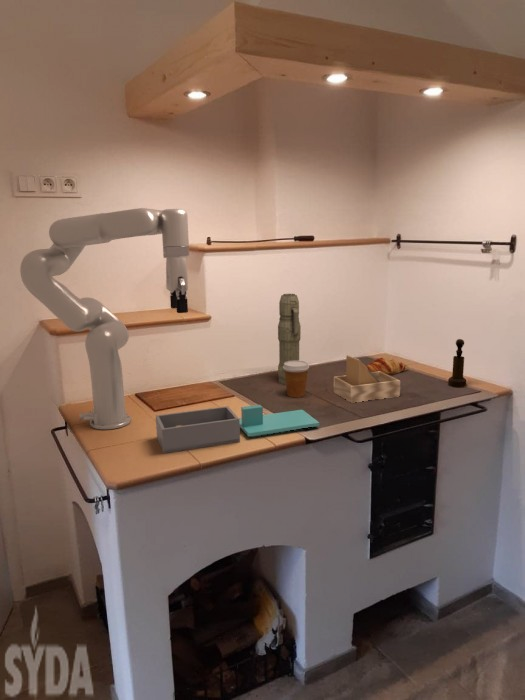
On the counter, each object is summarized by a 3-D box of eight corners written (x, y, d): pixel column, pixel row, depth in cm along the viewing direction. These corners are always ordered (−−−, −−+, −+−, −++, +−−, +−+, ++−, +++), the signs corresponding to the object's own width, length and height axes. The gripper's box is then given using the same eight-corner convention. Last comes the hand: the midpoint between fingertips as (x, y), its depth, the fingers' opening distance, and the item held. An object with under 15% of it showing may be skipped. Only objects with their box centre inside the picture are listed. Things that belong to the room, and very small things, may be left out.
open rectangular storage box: (351, 403, 184) (351, 386, 183) (333, 392, 197) (333, 376, 195) (399, 396, 190) (400, 380, 189) (379, 386, 203) (379, 371, 201)
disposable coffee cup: (279, 397, 191) (279, 365, 189) (287, 390, 200) (287, 359, 197) (305, 400, 188) (305, 367, 185) (311, 392, 197) (312, 361, 194)
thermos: (289, 387, 203) (288, 296, 195) (271, 380, 212) (271, 293, 205) (307, 383, 207) (307, 295, 200) (289, 377, 217) (289, 292, 209)
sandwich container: (394, 395, 193) (396, 355, 189) (358, 401, 187) (359, 360, 183) (380, 388, 200) (381, 350, 197) (345, 394, 194) (346, 354, 191)
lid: (248, 439, 154) (247, 415, 152) (235, 424, 166) (235, 402, 164) (319, 428, 161) (319, 405, 160) (302, 415, 173) (302, 393, 171)
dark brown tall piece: (451, 381, 207) (454, 336, 203) (468, 384, 204) (471, 338, 200) (445, 385, 202) (448, 339, 198) (463, 388, 198) (466, 341, 194)
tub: (163, 453, 145) (162, 429, 144) (157, 437, 156) (155, 415, 155) (240, 441, 152) (239, 419, 151) (228, 427, 163) (227, 406, 162)
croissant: (403, 376, 228) (399, 358, 230) (415, 371, 219) (411, 352, 220) (358, 380, 222) (355, 362, 224) (369, 375, 213) (365, 356, 214)
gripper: (158, 251, 162) (162, 307, 165) (168, 254, 146) (171, 315, 150) (183, 251, 164) (185, 305, 168) (195, 253, 148) (197, 313, 152)
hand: (179, 310), depth 159 cm, fingers open, 9 cm apart
